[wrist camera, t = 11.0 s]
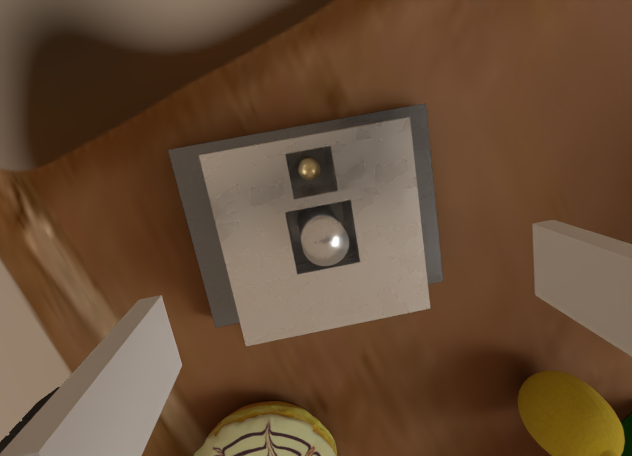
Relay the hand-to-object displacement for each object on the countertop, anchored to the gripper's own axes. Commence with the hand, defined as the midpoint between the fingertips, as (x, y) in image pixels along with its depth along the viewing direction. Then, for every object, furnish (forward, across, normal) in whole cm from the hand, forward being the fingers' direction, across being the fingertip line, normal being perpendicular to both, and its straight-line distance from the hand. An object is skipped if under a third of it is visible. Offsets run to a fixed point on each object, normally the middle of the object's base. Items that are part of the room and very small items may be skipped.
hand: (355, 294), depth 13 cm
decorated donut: (+14, +8, +18) cm, 24 cm away
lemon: (+14, -14, +17) cm, 26 cm away
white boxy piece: (+12, 0, 0) cm, 12 cm away
